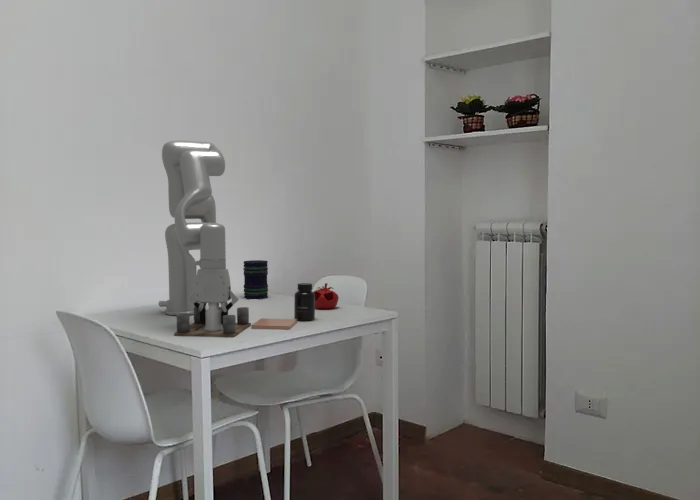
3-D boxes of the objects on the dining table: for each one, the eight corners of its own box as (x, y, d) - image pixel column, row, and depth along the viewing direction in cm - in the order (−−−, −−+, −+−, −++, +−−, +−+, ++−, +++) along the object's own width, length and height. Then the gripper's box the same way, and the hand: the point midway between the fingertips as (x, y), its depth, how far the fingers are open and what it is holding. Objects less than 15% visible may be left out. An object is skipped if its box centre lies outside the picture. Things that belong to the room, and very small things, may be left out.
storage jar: (240, 299, 259) (239, 262, 257) (248, 295, 268) (247, 260, 267) (264, 299, 257) (263, 262, 256) (271, 296, 267) (270, 260, 265)
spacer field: (174, 335, 188) (173, 316, 187) (196, 324, 206) (195, 306, 205) (234, 337, 186) (233, 317, 185) (251, 325, 203) (250, 307, 203)
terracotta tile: (251, 328, 198) (251, 325, 198) (261, 321, 210) (261, 318, 210) (289, 329, 197) (289, 326, 197) (297, 322, 209) (297, 319, 209)
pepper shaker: (215, 328, 198) (214, 298, 198) (223, 330, 196) (223, 299, 195) (204, 330, 195) (204, 299, 195) (213, 332, 193) (212, 300, 192)
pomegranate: (316, 306, 243) (316, 281, 243) (342, 306, 240) (341, 282, 240) (307, 309, 234) (307, 284, 233) (333, 310, 231) (333, 284, 230)
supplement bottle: (299, 322, 209) (299, 285, 208) (291, 318, 215) (290, 283, 214) (318, 320, 212) (318, 284, 211) (310, 317, 218) (309, 282, 217)
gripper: (181, 265, 191) (182, 325, 193) (237, 266, 189) (237, 327, 191) (190, 263, 199) (191, 321, 200) (244, 264, 197) (245, 322, 198)
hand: (214, 323), depth 195 cm, fingers open, 5 cm apart
